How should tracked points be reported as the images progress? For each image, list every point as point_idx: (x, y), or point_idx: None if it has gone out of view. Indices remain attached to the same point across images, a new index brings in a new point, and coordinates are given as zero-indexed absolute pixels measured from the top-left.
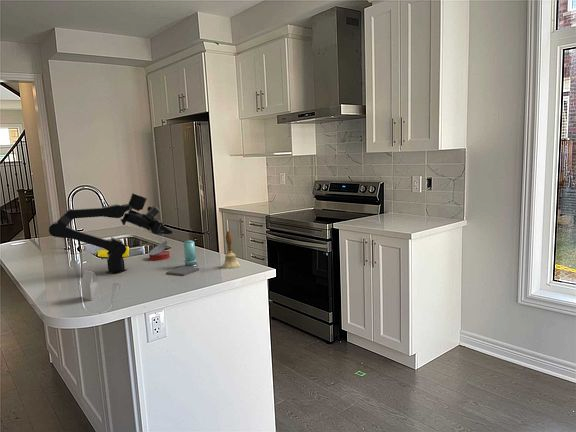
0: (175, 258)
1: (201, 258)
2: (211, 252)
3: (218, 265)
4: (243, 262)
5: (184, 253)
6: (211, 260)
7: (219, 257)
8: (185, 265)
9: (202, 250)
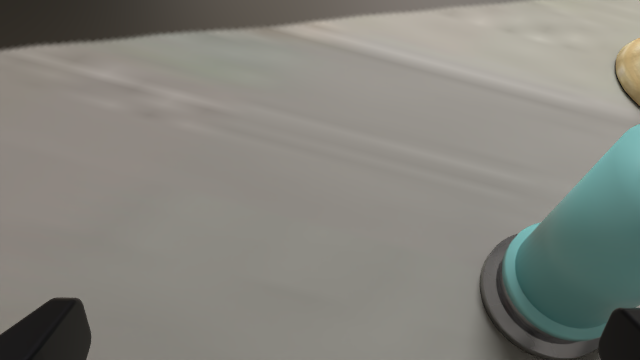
0: (114, 332)
1: (308, 151)
2: (155, 45)
3: (623, 130)
4: (601, 10)
5: (621, 303)
6: (431, 119)
7: (367, 56)
8: (572, 343)
9: (16, 66)
